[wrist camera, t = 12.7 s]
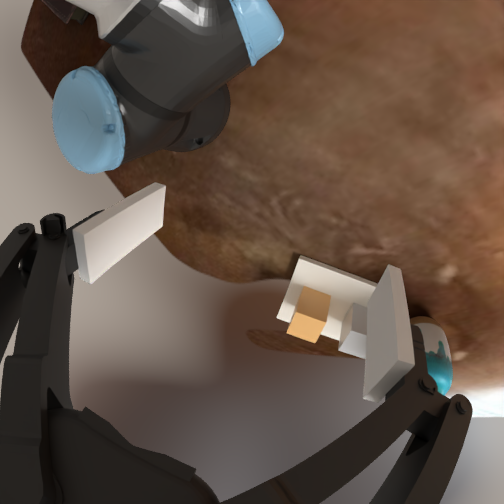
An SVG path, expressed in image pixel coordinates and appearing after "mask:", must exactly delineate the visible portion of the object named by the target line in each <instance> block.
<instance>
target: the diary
mask: <svg viewBox="0 0 504 504" xmlns="http://www.w3.org/2000/svg"><path fill="white" fill-rule="evenodd" d="M41 1H42V2H43V3H44V4H46V5H47V6H48V7H49V8H50V9H51V10H52V11H53V13H54V14H56V15H57V16H58V17H59V18H60V19H61V20H62V21H63V22H65V23H66V24H68V22H69V20H70V19H75V20H77V21H78V22H79V23H80V24H81V25H83V23H84V21H85V19H86V18H87V16H88V14H89V12H88V11H86V10H84V9H82V8H80V7H78V6H76V5H74V4H72V3H70V2H68V1H66V0H41Z"/></svg>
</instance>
